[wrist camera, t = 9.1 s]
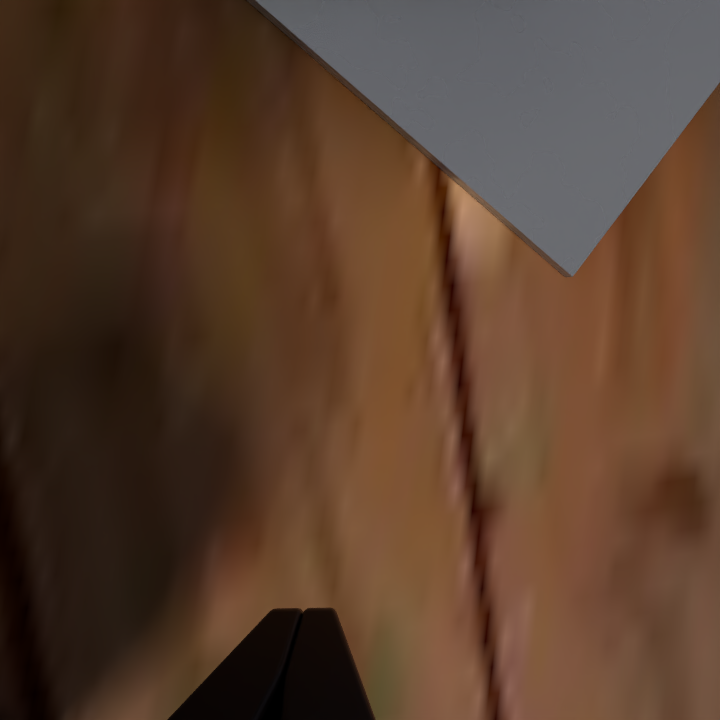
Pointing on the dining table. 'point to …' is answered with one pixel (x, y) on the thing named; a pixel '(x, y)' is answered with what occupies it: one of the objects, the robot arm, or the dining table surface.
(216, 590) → the dining table surface
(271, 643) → the robot arm
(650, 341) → the dining table surface
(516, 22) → the gate post
